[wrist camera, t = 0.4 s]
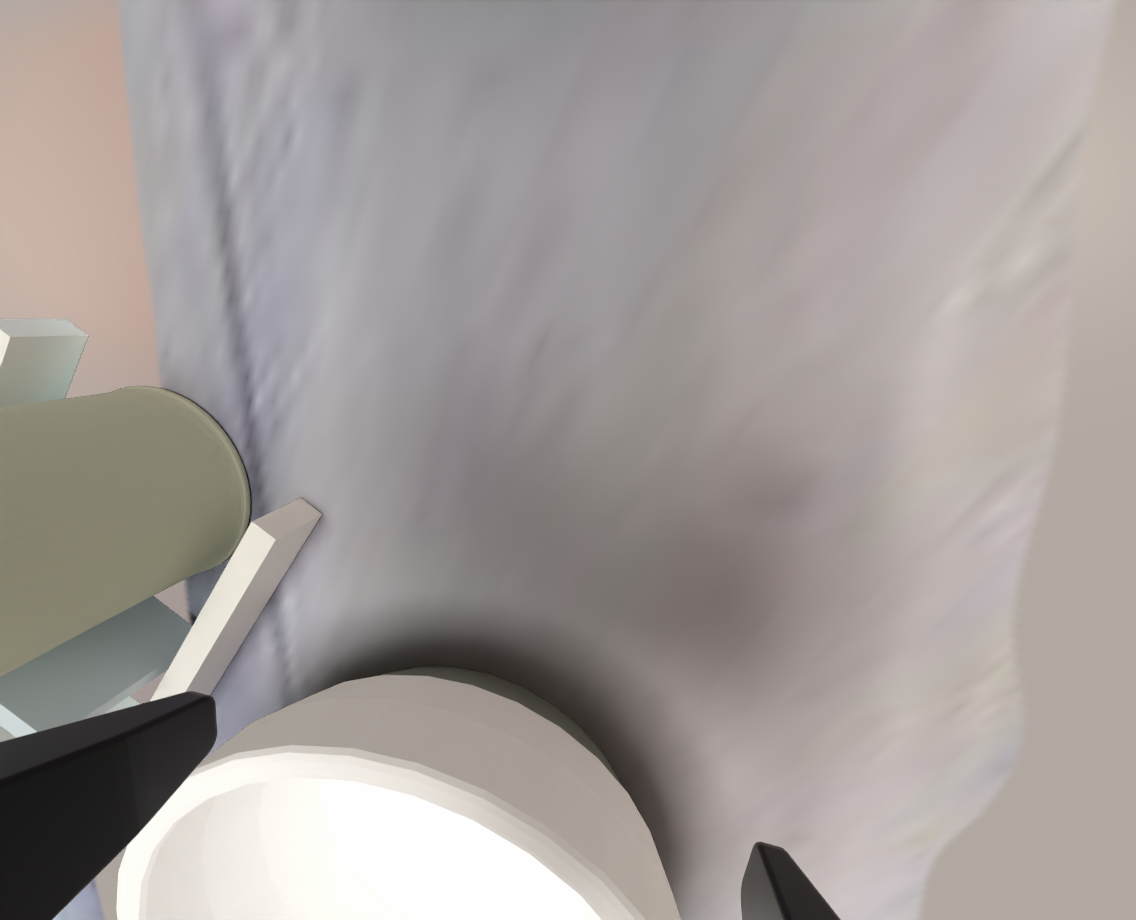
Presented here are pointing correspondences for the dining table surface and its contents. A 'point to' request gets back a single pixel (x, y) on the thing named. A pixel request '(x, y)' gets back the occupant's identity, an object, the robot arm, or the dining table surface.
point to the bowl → (401, 815)
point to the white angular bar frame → (44, 373)
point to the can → (108, 509)
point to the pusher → (92, 669)
